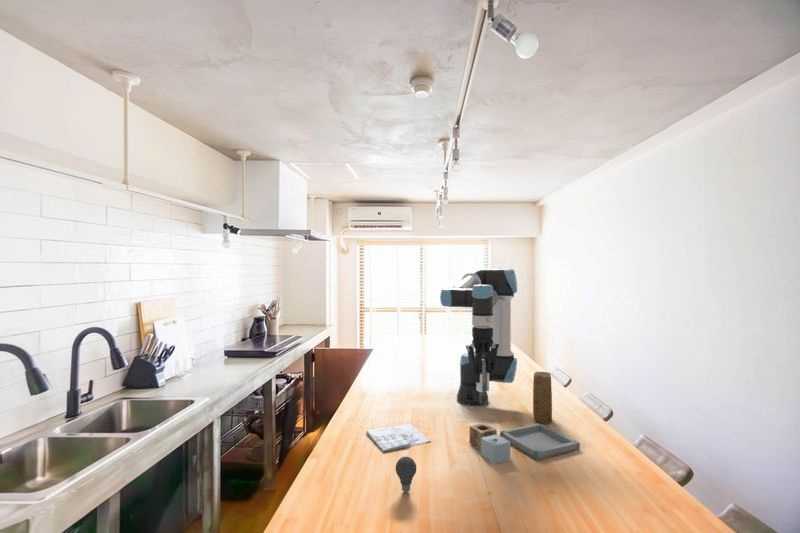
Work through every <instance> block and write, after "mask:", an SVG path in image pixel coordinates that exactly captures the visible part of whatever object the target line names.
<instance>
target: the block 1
mask: <svg viewBox="0 0 800 533" xmlns="http://www.w3.org/2000/svg"><path fill="white" fill-rule="evenodd" d="M480 455H481V456H482V457H483V458H485V460H488V461H489V462H490V463H491V464H493V465H494V464H495V465H496V464H497V463H498V464H499V463H501V462H505V461H511V444H510V442H509V441H508V440H506V439H504V438H503V437H501V436H500V434H498V433H497V434H496V435H492V436H487V437H482V438H481V450H480Z"/></svg>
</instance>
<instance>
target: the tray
mask: <svg viewBox="0 0 800 533" xmlns="http://www.w3.org/2000/svg"><path fill="white" fill-rule="evenodd" d="M499 436H501V437H503V438H504V439H506V440H508V441H509V442H510V446H513V447H514V448H515V449H517V450H519V451H521V452H523V453H524V454H526V455H527V456H529V457H531V458H532V459H534V460H536V461H541V460H546V459H548V458H552V457H557V456H561V455H563V454H568V453H573V452H576V451H580V449H581V445H580V442H579V441H578V440H575V439H573V438H571V437H569V436H567V435H565V434H563V433H561V432H559V431H557V430H555V429H552V428H551V427H548V426H547V425H546V424H545V425H544V424H543V423H538V422H537V423H534V424H529V425H524V426H520V427H515V428H509V429H505V430H501V431H499Z"/></svg>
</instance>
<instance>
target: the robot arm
mask: <svg viewBox="0 0 800 533" xmlns="http://www.w3.org/2000/svg"><path fill="white" fill-rule="evenodd" d="M515 272H516V271H515V270H514V269H513V268H507V267H497V268H495V267H490V268H487V267H486V268H485V267H484V268H483V267H482V268H477V269H474V270H471V271H469V272H467V273H466V274H464V275H463V276H462V278H461V280H459V282H458V283H457V284H455V285H454V286H452V288H451V287H445V288H442V289H441V291H440V295H439V296H440V298H439V300H440V304H441V305H442V307H447V308H448V307H449V308H472V310H471V311H472V314H471V317H472V318H471V326H472V330H471V332H472V334H471V336H472V341H471V343H470V344H469V345H466V346H465V348H466V351H467V352H465V353H463V354H462V355H461V356H460V361H459V362H460V363H459V365H460V367H459V371H460V372H459V374H460V375H459V376H460V377H459V378H460V380H459V381H460V383H459V384H460V385H459V387H458V391H457V394H456V401H457V402H458V403H460V404H462V405H466V406H475V407H478V406H483V404H480V394H479V392H482V374H481V373H480V372H481V362H482V359H485V360H486V404H485V405H487V404H488V403H489V396H488V392H490V382H495V383H503V384H505V383H506V384H512V383H513V382H514V381H515V378H516V374H517V366H518V359H517V358H516V357H515V354H514V352H513V351H512V349H511V346H512V345H511V344H512V343H511V341H512V340H511V339H512V337H511V336H512V335H511V334H512V333H511V329H512V328H511V325H512V324H511V323H512V322H511V319H512V318H511V313H512V312H511V311H512V309H511V308H512V305H511V304H512V303H511V302H512V301H511V300H512V299H513V298H514V297H515V294H516V293H518V282H517V276H516V273H515Z"/></svg>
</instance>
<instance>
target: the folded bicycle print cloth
mask: <svg viewBox="0 0 800 533" xmlns="http://www.w3.org/2000/svg"><path fill="white" fill-rule="evenodd" d="M366 434H367V435H368V436H369V437H370V439H371V440H372V441H373V442H374V443H375V445H377V447H378V448H379V449H380V450H381V451H382V452H383V453H385V452H390V451H395V450H399V449H405V448H409V447H410V448H413V447H414V446H415V447H416V446H419V445H424V444H429V443H431V442H432V441H431V439H429V438H428V437H426V436H425V435H424V434H423V433H421V432H420V431H419V430H418V429H417V428H416V427H415V425H413V424H412V423H411V422H410V423H406V424H402V425H398V426H397V425H395V426H391V425H388V426H384V427H379V428H374V429H366ZM402 437H403V438H402Z"/></svg>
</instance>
